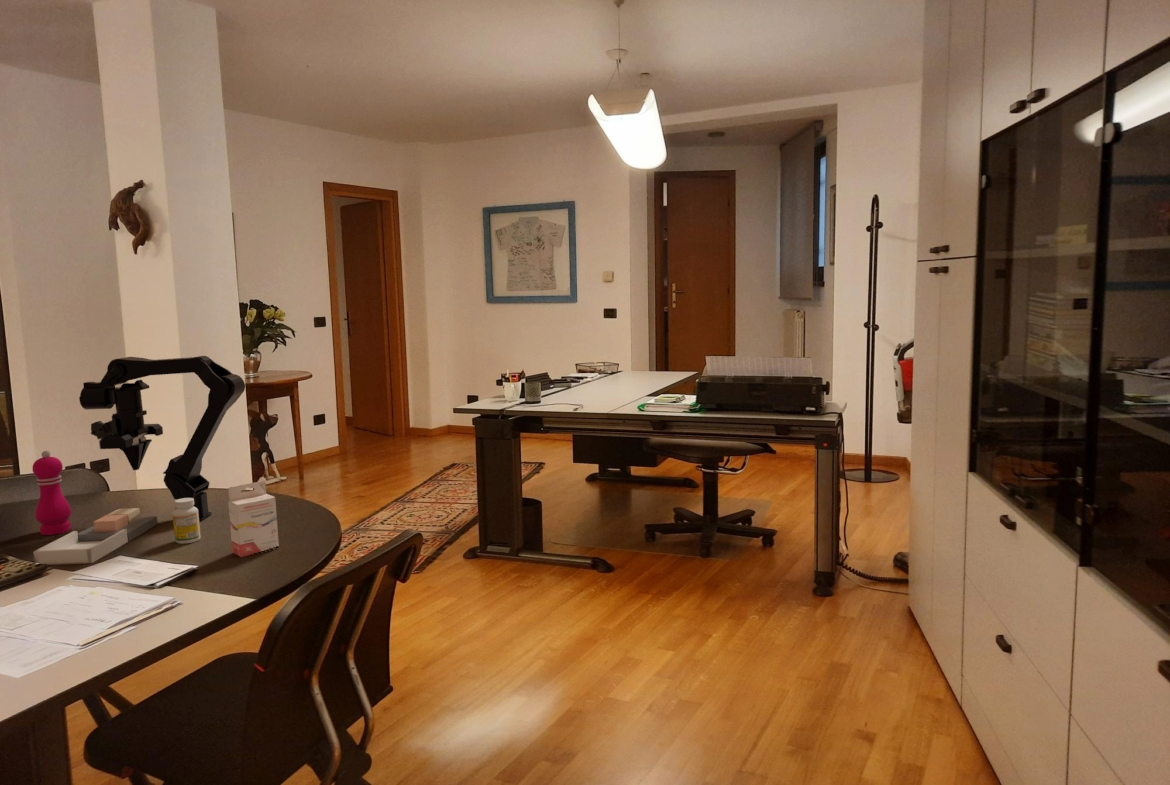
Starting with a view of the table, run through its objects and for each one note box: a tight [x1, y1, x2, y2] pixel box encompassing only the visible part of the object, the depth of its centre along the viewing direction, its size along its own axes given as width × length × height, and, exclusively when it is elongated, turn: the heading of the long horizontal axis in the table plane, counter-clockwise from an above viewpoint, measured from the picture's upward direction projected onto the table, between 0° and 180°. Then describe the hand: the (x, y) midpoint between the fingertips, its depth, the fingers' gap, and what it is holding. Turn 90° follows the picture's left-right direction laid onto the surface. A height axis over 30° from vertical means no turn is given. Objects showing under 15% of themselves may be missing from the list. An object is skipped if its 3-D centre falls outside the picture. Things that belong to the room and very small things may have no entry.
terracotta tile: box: [93, 514, 128, 532], centre depth 187 cm, size 5×5×2 cm
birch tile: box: [107, 507, 141, 524], centre depth 192 cm, size 5×5×2 cm
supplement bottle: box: [171, 498, 202, 545], centre depth 182 cm, size 5×5×10 cm
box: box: [32, 529, 129, 566], centre depth 176 cm, size 12×14×3 cm
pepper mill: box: [32, 450, 72, 536], centre depth 192 cm, size 7×7×20 cm
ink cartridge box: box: [228, 480, 280, 558], centre depth 173 cm, size 9×5×15 cm, turn 135°
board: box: [77, 515, 159, 542], centre depth 190 cm, size 12×13×2 cm
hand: (136, 469), depth 199 cm, fingers closed
